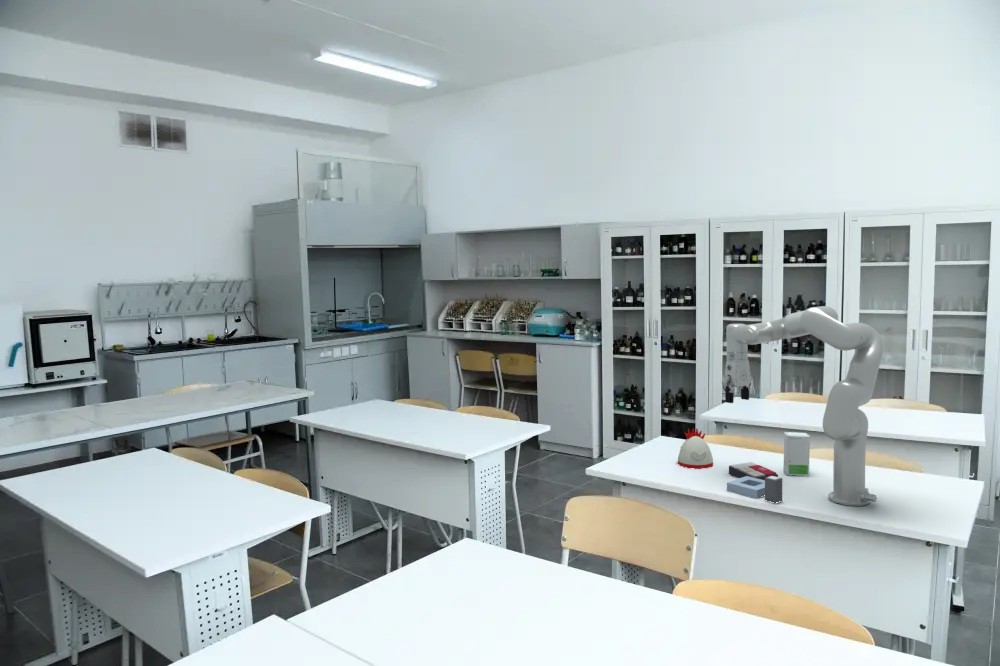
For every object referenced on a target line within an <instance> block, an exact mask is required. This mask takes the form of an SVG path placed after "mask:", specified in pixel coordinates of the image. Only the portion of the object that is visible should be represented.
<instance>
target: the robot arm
mask: <svg viewBox="0 0 1000 666" xmlns="http://www.w3.org/2000/svg"><path fill="white" fill-rule="evenodd" d="M838 314H839V313H837V311H836V310H835V309H834V308H833V307H831V306H828V305H827V306H825V305H823V306H822V305H821V306H813V307H808V308H806V309H805V310H801V311H797V312H792V313H788V314H786V315H785V316H784V317H782V318H778V319H774V320H770V321H766V322H765V321H764V322H757V323H751V324H745V323H729V324H727V325H726V336H725V337H726V340H725V341H726V362H725V363H726V364H725V373H724V379H723V380H722V381H721V384H722V389H723V392H724V393H725V396H724V398H725V400H724V401H725V403H727V404H734V403H735V401H734V392H733V391H734V389H735V388H741V389H740V399H742V400H745V401H749V400H750V389H751V386H752V379H753V377H752V376H751V367H750V362H749V358H748V351H749V349H748V347H749V346H748V345H751V346H753V345H758V344H765V343H770V342H774V341H780V340H785V339H790V338H791V339H794V338H798V337H804V336H808V335H812V336H814V337H815V338H817V339H818V340H820V341H822V342H823V343H825V344H826V345H828V346H830V347H832V348H834V349H836V350H839V351H847V352H848V351H853V350H854V354H853V356H852V357H851V360H850V362H849V367H848V371H847V374H846V377H845V378H844V379H842V380H840V381H838V382H836V383H835V384H834V385H833V386H832V388H831V390H830V392H829V395H828V397H827V402H826V407H825V411H824V413H823V418H822V430H823V432H824V433H825V435H826V436H827V437H828V438H829V439H831V440H833V441H834V442H833V467H832V468H833V469H832V470H833V474H832V475H833V476H832V477H833V479H832V481H833V482H832V483H833V485H832V486H833V489H832V491H831V492H829V493H828V496H827V498H828V499H829V500H830V501H831V502H833V503H836V504H838V503H839V505H843V506H851V507H861V506H862V507H863V506H867V505H869V504H870V503H871V502H873V503H876V502H877V501H878V497H877V495H876V494H874V493H870V492H869V488H866V453H867V452H866V450H867V449H866V447H867V446H866V445H867V436H868V432H869V431H868V430H869V420H868V417H867V415H866V414H865V412H864V411H863V410H861V409H860V407H862V406H865V405H866V404H868V403H869V402H870V401H871V400H872V397H873V394H874V390H875V385H876V383H877V377H878V373H879V369H880V366H881V362H882V360H883V359H882V358H883V355H884V354H883V352H884V344H883V340H882V337H881V335H880V334H879V333H878V332H877V331H878V330H876V329H875V328H873V327H872V326H871V325H869V324H867V323H864V322H851V323H846V324H845V323H843V322H841V321H840V320H839V315H838Z"/></svg>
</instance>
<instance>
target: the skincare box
mask: <svg viewBox="0 0 1000 666" xmlns="http://www.w3.org/2000/svg"><path fill="white" fill-rule="evenodd" d="M783 434H784V435H783V436H784V438H783V469H782V471H783V472H784V473H785V475H787V476H792V475H796V477H809V476H810V453H811V452H810V446H811V443H810V441H811V436H810V435H809V434H808V433H806V432H796V431H795V432H790V431H789V432H788V431H785V432H783Z"/></svg>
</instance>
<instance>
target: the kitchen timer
mask: <svg viewBox="0 0 1000 666" xmlns="http://www.w3.org/2000/svg"><path fill="white" fill-rule="evenodd" d="M702 432H703V431H702V430H700V431H699V429H698V428H696V429H695V428H692V430H690V429H689V428H688V429H687V433H686V432H684V435H685V437H686V440H684V441H683V444H682V445H681V446H680V450H679V453H678V457H677V465H678V464H679V465H680V467H681V466H683V468H685V467H687V468H686V469H690V468H694V469H693V470H703V469H702V468H706V469H710V468H712V467H713V466H714V459H713V454H712V451H711V449H710V447H709V445H708V443H707V442H706V441H705V440H704V438H705V436H706V433H703V434H702ZM679 465H678V466H679ZM709 467H710V468H709Z"/></svg>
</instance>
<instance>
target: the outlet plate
mask: <svg viewBox="0 0 1000 666" xmlns="http://www.w3.org/2000/svg"><path fill="white" fill-rule="evenodd" d="M726 491H727V492H730V493H734V494H738V495H741V496H744V497H745V496H746V497H748V496H750V498H752V497H754V498H753V499H756V498H758V499H760V498H762V497H761V496H763V497H765V496H764V495H765V480H761V479H757V478H753V477H749V476H745V477H742V478H736V479H733V480H730V481H727V482H726ZM759 497H760V498H759Z"/></svg>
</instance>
